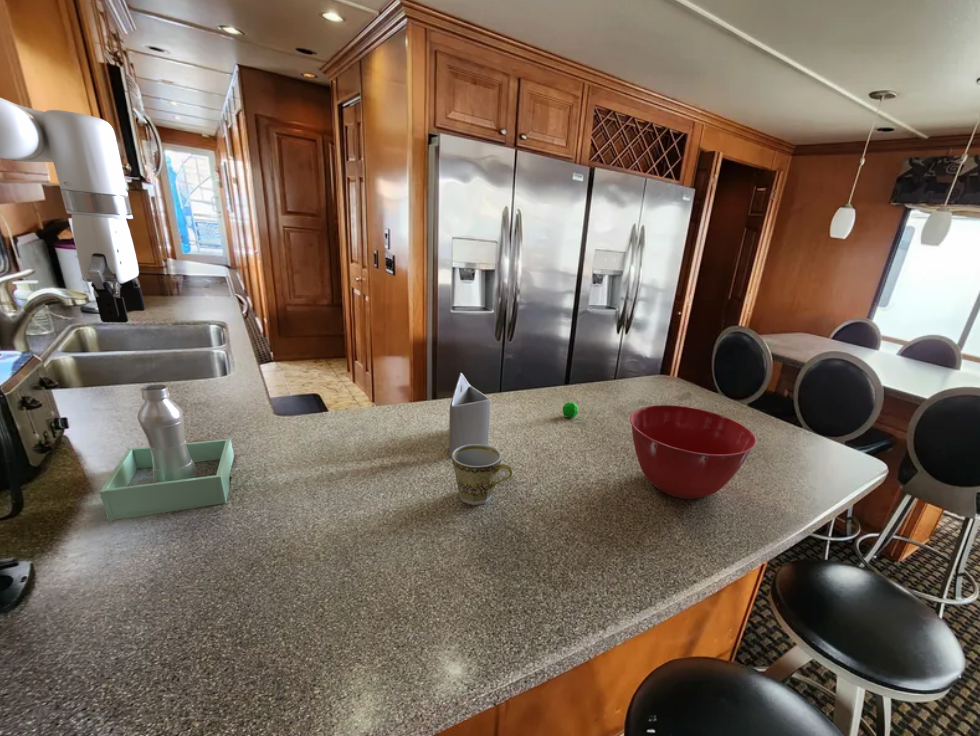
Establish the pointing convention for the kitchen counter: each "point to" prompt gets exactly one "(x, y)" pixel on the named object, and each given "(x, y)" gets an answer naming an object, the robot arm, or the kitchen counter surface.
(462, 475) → the ceramic cup
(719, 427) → the mixing bowl
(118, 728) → the kitchen counter surface
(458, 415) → the planter
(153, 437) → the plastic bottle
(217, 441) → the mint green tray frame
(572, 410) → the polyhedron
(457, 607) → the kitchen counter surface
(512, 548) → the kitchen counter surface
